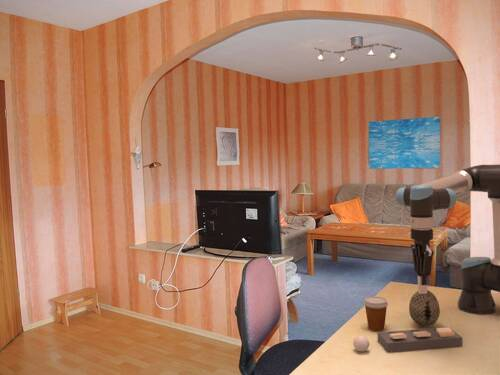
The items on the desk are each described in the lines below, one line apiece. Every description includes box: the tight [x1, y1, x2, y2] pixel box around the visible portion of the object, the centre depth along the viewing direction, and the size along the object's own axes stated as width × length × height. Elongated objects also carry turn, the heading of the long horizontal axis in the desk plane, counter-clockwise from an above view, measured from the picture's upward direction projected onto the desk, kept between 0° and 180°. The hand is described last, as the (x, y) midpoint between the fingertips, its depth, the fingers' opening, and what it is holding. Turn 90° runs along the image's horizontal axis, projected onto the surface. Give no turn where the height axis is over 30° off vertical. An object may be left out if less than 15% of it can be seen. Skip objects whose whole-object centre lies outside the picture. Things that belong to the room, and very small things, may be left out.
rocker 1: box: [389, 333, 407, 339], centre depth 161 cm, size 5×4×1 cm
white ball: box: [353, 335, 370, 353], centre depth 162 cm, size 8×6×6 cm
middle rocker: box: [413, 331, 431, 337], centre depth 162 cm, size 5×4×1 cm
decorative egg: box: [408, 289, 441, 328], centre depth 181 cm, size 12×12×15 cm
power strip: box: [376, 326, 463, 354], centre depth 164 cm, size 28×10×4 cm, turn 95°
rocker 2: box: [435, 326, 455, 337], centre depth 163 cm, size 5×4×1 cm
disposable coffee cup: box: [363, 296, 389, 332], centre depth 180 cm, size 10×10×12 cm
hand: (422, 292), depth 159 cm, fingers closed
